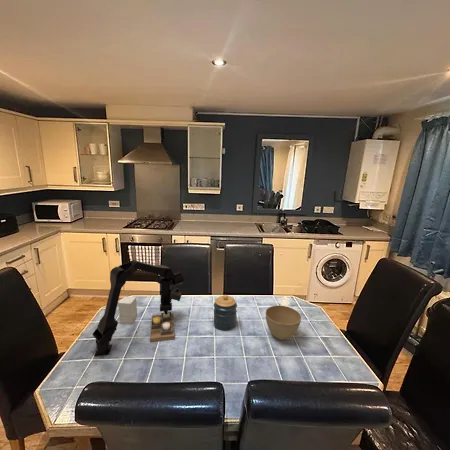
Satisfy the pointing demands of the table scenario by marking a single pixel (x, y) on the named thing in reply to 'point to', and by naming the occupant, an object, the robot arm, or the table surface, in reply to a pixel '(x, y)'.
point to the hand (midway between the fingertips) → (166, 313)
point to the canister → (225, 313)
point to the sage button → (166, 315)
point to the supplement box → (127, 310)
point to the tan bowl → (282, 321)
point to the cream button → (166, 326)
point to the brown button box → (158, 331)
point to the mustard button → (156, 320)
